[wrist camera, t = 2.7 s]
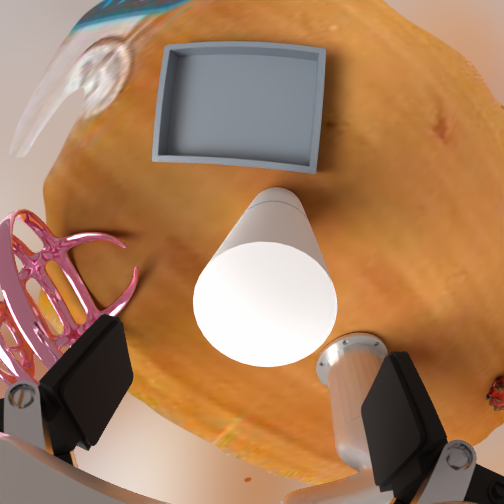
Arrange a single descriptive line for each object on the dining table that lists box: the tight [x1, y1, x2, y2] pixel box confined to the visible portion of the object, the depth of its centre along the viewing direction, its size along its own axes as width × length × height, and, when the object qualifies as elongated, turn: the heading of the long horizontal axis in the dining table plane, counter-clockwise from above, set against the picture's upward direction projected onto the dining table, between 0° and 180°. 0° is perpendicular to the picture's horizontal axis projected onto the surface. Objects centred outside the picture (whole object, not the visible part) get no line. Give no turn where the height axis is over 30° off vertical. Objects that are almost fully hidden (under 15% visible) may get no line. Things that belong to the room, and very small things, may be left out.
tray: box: [152, 41, 326, 174], centre depth 31 cm, size 20×16×4 cm
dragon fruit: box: [486, 376, 504, 411], centre depth 40 cm, size 8×8×12 cm
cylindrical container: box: [193, 187, 337, 367], centre depth 25 cm, size 7×7×25 cm
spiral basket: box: [0, 209, 139, 387], centre depth 31 cm, size 28×28×27 cm
